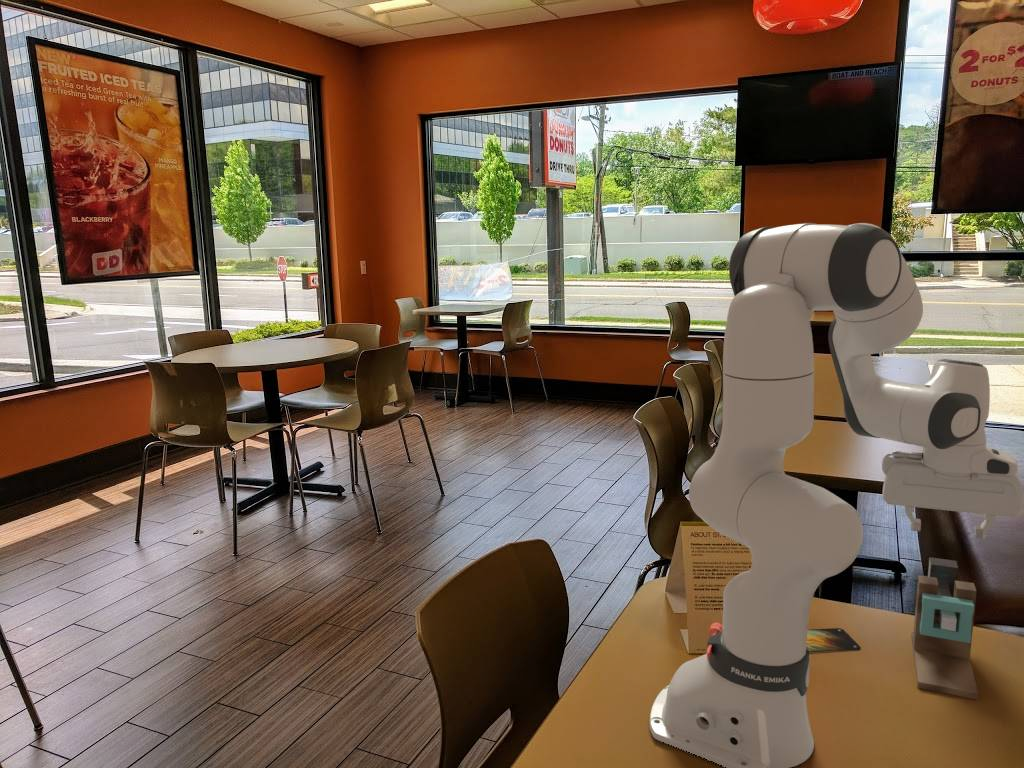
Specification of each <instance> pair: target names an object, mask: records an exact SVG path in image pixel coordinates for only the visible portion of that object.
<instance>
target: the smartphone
mask: <svg viewBox="0 0 1024 768" xmlns="http://www.w3.org/2000/svg"><path fill="white" fill-rule="evenodd" d="M806 645H807V647H808V649H809V654H815V653H816V654H817V653H819V654H820V653H821V654H822V653H833V652H834V653H835V652H850V651H851V652H852V651H853V650H854V651H860V650H861V649H862V648H861V646H860V645H859V644H858V642H856V640H854V639H853V638H852V636H850V635H849V634H848V633H847V632H846V631H845V630H844V629H843V628H840V627H834V628H833V627H832V628H831V627H829V628H817V629H816V628H812V629H807V643H806Z"/></svg>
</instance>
